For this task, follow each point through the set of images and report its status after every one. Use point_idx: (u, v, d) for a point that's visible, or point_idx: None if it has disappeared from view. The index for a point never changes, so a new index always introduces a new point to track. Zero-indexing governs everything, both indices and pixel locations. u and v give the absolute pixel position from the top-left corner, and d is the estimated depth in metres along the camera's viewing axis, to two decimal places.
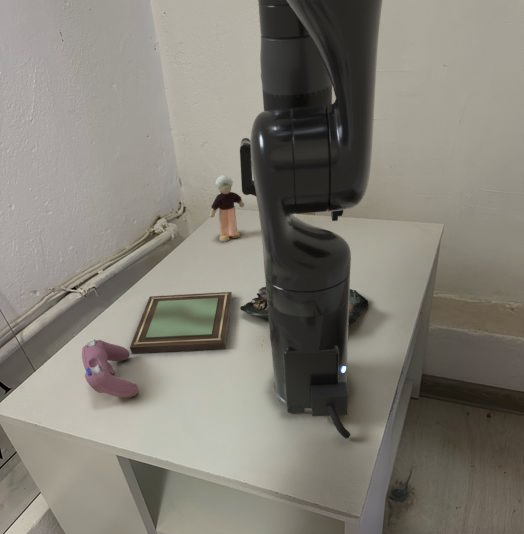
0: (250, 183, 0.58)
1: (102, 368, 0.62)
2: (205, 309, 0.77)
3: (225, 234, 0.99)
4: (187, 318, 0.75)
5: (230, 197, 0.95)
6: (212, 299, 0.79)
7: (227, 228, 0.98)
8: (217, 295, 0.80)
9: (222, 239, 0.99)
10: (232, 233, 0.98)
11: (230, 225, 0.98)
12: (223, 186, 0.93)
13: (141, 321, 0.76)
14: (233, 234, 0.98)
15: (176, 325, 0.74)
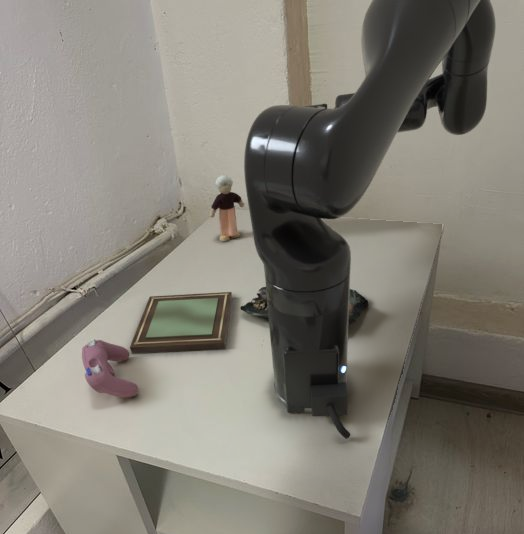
0: None
1: (102, 368, 0.62)
2: (205, 309, 0.77)
3: (225, 234, 0.99)
4: (187, 318, 0.75)
5: (230, 197, 0.95)
6: (212, 299, 0.79)
7: (227, 228, 0.98)
8: (217, 295, 0.80)
9: (222, 239, 0.99)
10: (232, 233, 0.98)
11: (230, 225, 0.98)
12: (223, 186, 0.93)
13: (141, 321, 0.76)
14: (233, 234, 0.98)
15: (176, 325, 0.74)
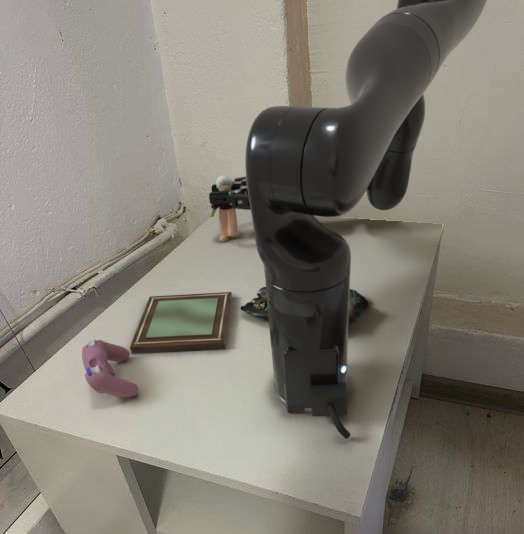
0: (241, 179, 0.97)
1: (102, 368, 0.62)
2: (205, 309, 0.77)
3: (225, 234, 0.99)
4: (187, 318, 0.75)
5: None
6: (212, 299, 0.79)
7: (227, 228, 0.98)
8: (217, 295, 0.80)
9: (221, 239, 0.99)
10: (231, 233, 0.98)
11: (230, 225, 0.98)
12: (223, 187, 0.93)
13: (141, 321, 0.76)
14: (232, 234, 0.98)
15: (176, 325, 0.74)
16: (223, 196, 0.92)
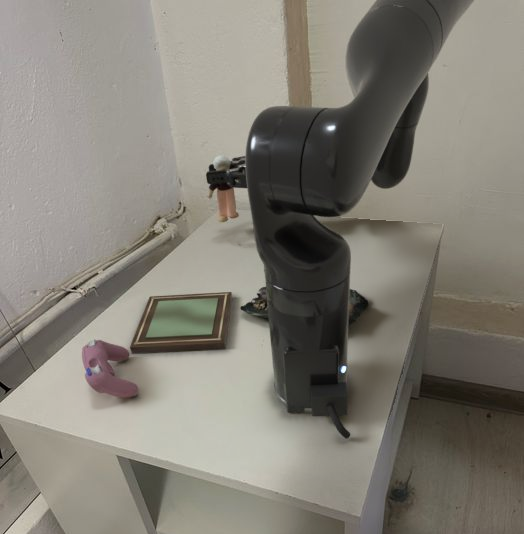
0: (239, 158, 0.95)
1: (102, 368, 0.62)
2: (205, 309, 0.77)
3: (223, 215, 0.97)
4: (187, 318, 0.75)
5: None
6: (212, 299, 0.79)
7: (225, 209, 0.97)
8: (217, 295, 0.80)
9: (220, 220, 0.98)
10: (230, 214, 0.97)
11: (228, 206, 0.96)
12: (221, 168, 0.91)
13: (141, 321, 0.76)
14: (231, 215, 0.97)
15: (176, 325, 0.74)
16: (220, 175, 0.90)
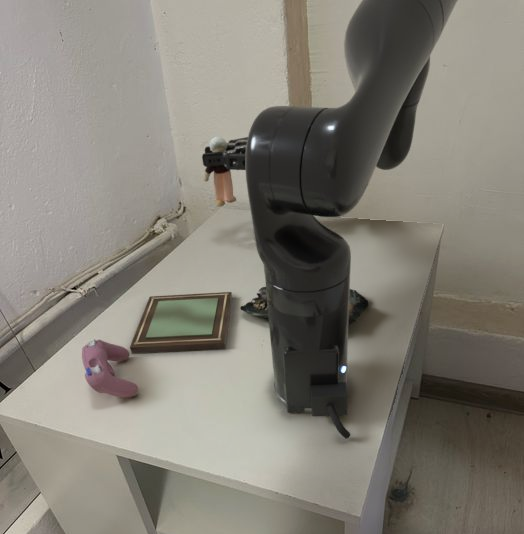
0: (236, 140, 0.92)
1: (102, 368, 0.62)
2: (205, 309, 0.77)
3: (220, 199, 0.95)
4: (187, 318, 0.75)
5: None
6: (212, 299, 0.79)
7: (222, 192, 0.95)
8: (217, 295, 0.80)
9: (217, 204, 0.95)
10: (227, 198, 0.95)
11: (225, 190, 0.94)
12: (217, 149, 0.88)
13: (141, 321, 0.76)
14: (228, 199, 0.95)
15: (176, 325, 0.74)
16: (217, 157, 0.87)
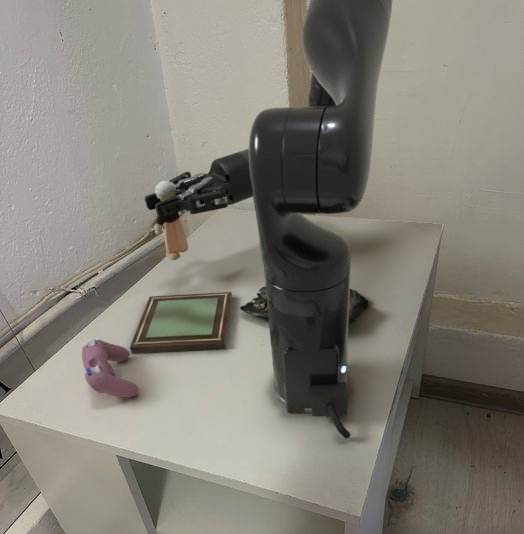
0: (173, 181, 0.80)
1: (102, 368, 0.62)
2: (205, 309, 0.77)
3: (174, 250, 0.81)
4: (187, 318, 0.75)
5: None
6: (212, 299, 0.79)
7: (175, 243, 0.81)
8: (217, 295, 0.80)
9: (173, 257, 0.81)
10: (183, 247, 0.81)
11: (180, 238, 0.80)
12: (169, 195, 0.75)
13: (141, 321, 0.76)
14: (184, 248, 0.82)
15: (176, 325, 0.74)
16: (175, 203, 0.74)
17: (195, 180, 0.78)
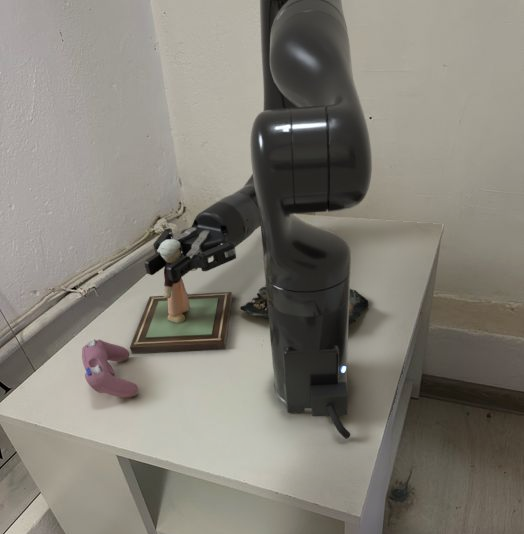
0: (162, 241, 0.73)
1: (102, 368, 0.62)
2: (205, 309, 0.77)
3: (179, 312, 0.75)
4: (187, 318, 0.75)
5: None
6: (212, 299, 0.79)
7: (179, 304, 0.74)
8: (217, 295, 0.80)
9: (180, 320, 0.74)
10: (187, 307, 0.75)
11: (184, 298, 0.74)
12: (177, 254, 0.69)
13: (141, 321, 0.76)
14: (188, 308, 0.75)
15: (176, 325, 0.74)
16: (187, 263, 0.68)
17: (189, 236, 0.73)
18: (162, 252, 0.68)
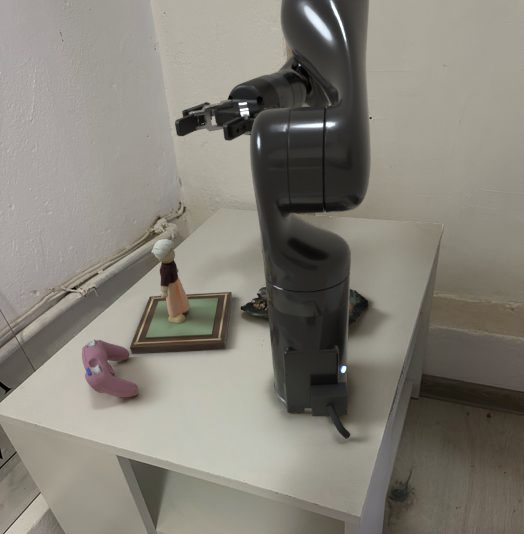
0: (192, 109, 0.73)
1: (102, 368, 0.62)
2: (205, 309, 0.77)
3: (179, 312, 0.75)
4: (187, 318, 0.75)
5: (174, 264, 0.72)
6: (212, 299, 0.79)
7: (178, 304, 0.74)
8: (217, 295, 0.80)
9: (180, 320, 0.74)
10: (187, 307, 0.75)
11: (183, 298, 0.74)
12: (170, 253, 0.69)
13: (141, 321, 0.76)
14: (188, 308, 0.75)
15: (176, 325, 0.74)
16: (242, 123, 0.67)
17: (221, 106, 0.72)
18: (156, 252, 0.69)
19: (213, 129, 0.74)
